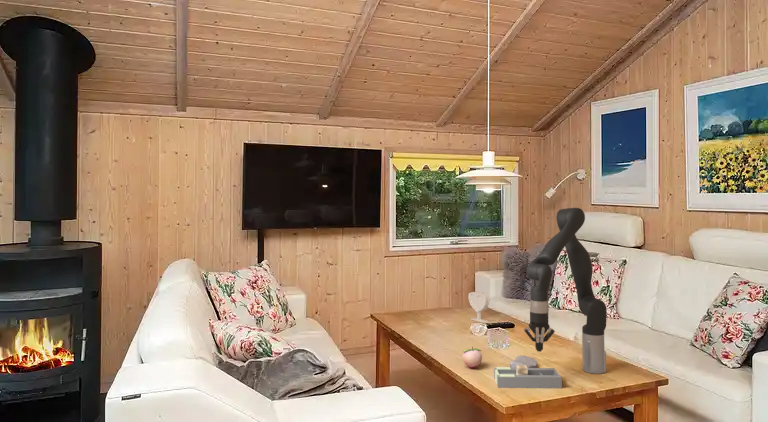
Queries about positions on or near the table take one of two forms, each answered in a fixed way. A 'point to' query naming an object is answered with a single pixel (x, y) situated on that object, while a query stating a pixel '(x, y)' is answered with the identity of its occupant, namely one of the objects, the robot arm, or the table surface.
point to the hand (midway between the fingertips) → (539, 350)
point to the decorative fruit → (472, 357)
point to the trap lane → (527, 378)
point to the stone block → (523, 362)
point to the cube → (521, 370)
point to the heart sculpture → (478, 304)
